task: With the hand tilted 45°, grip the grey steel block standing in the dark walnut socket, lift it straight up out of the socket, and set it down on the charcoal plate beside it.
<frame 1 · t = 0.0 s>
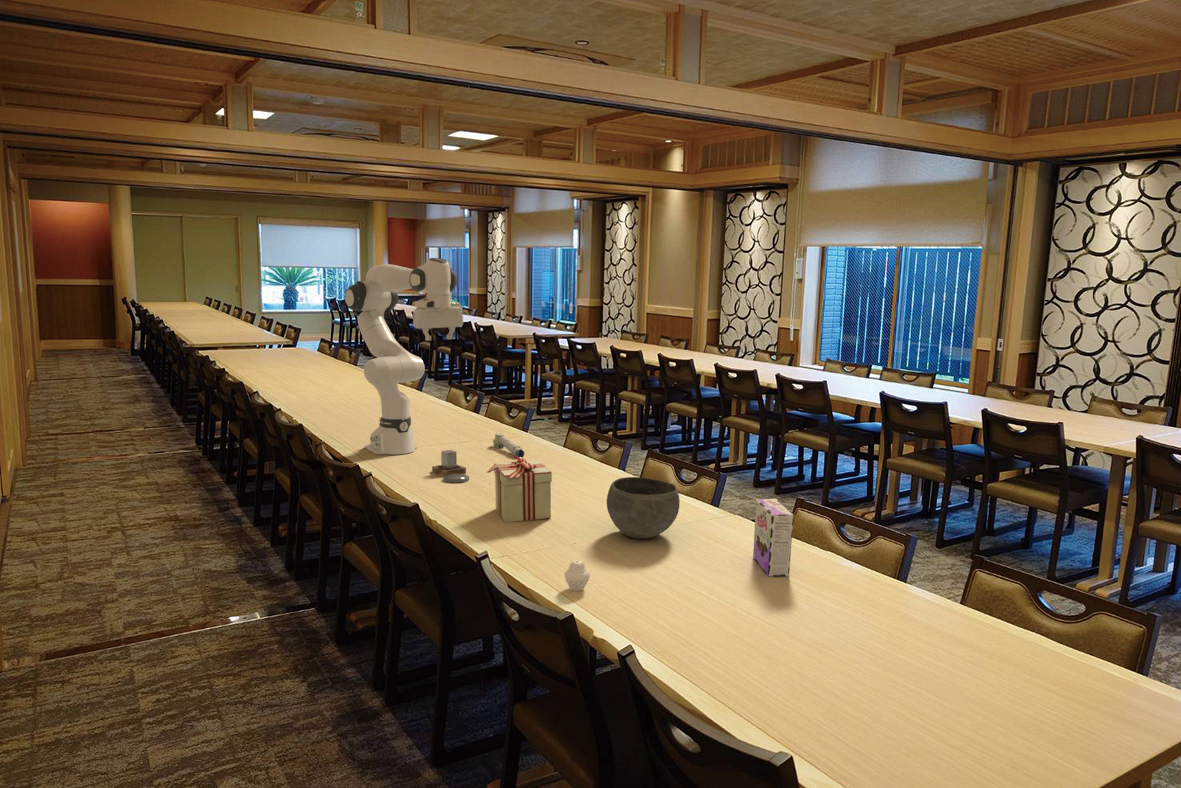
hand: (439, 339, 299), 48 cm above the table, tool pointing down, fingers open, 8 cm apart
bowl: (641, 535, 231), on the table
light grey rounded piece: (576, 589, 191), on the table
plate: (456, 479, 286), on the table
grey flashlight: (508, 452, 331), on the table
steel block: (448, 462, 295), in the socket
gift box: (518, 515, 247), on the table
candy box: (770, 567, 208), on the table
socket: (449, 472, 295), on the table
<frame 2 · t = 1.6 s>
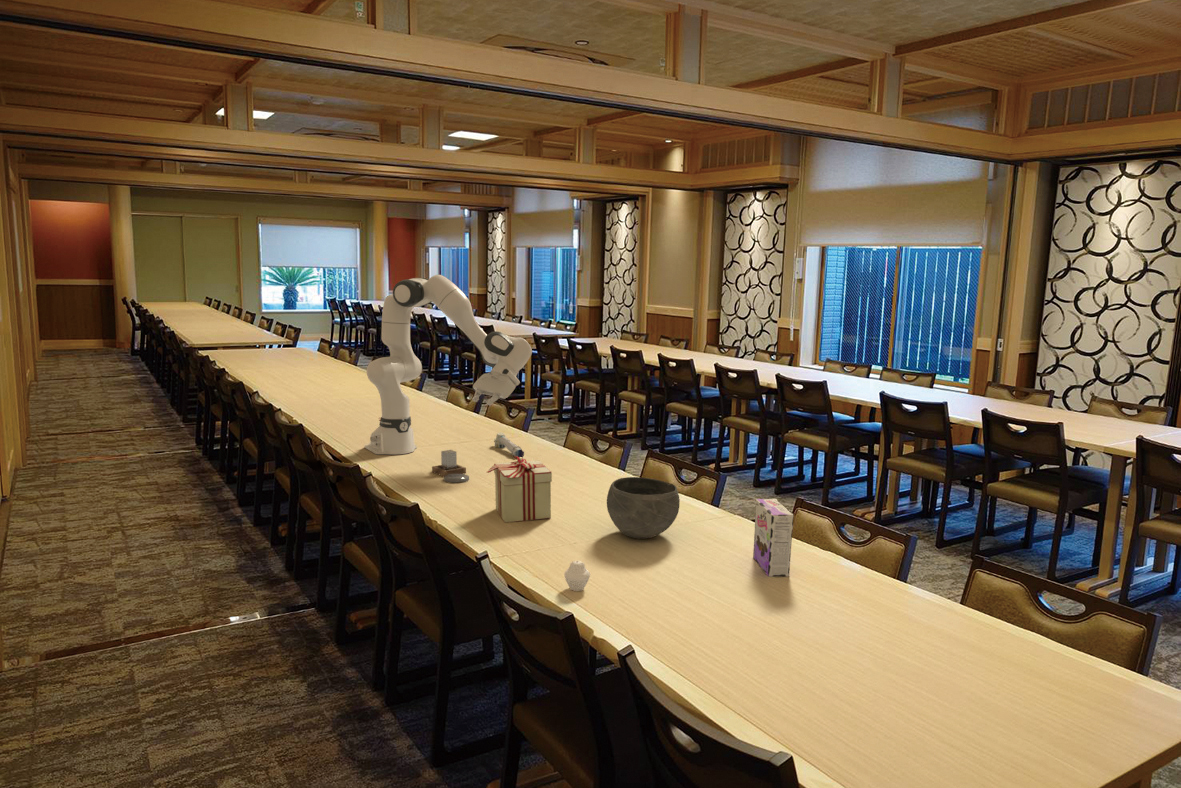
hand: (480, 402, 300), 25 cm above the table, tool tilted 45°, fingers open, 8 cm apart
nothing on the table moved.
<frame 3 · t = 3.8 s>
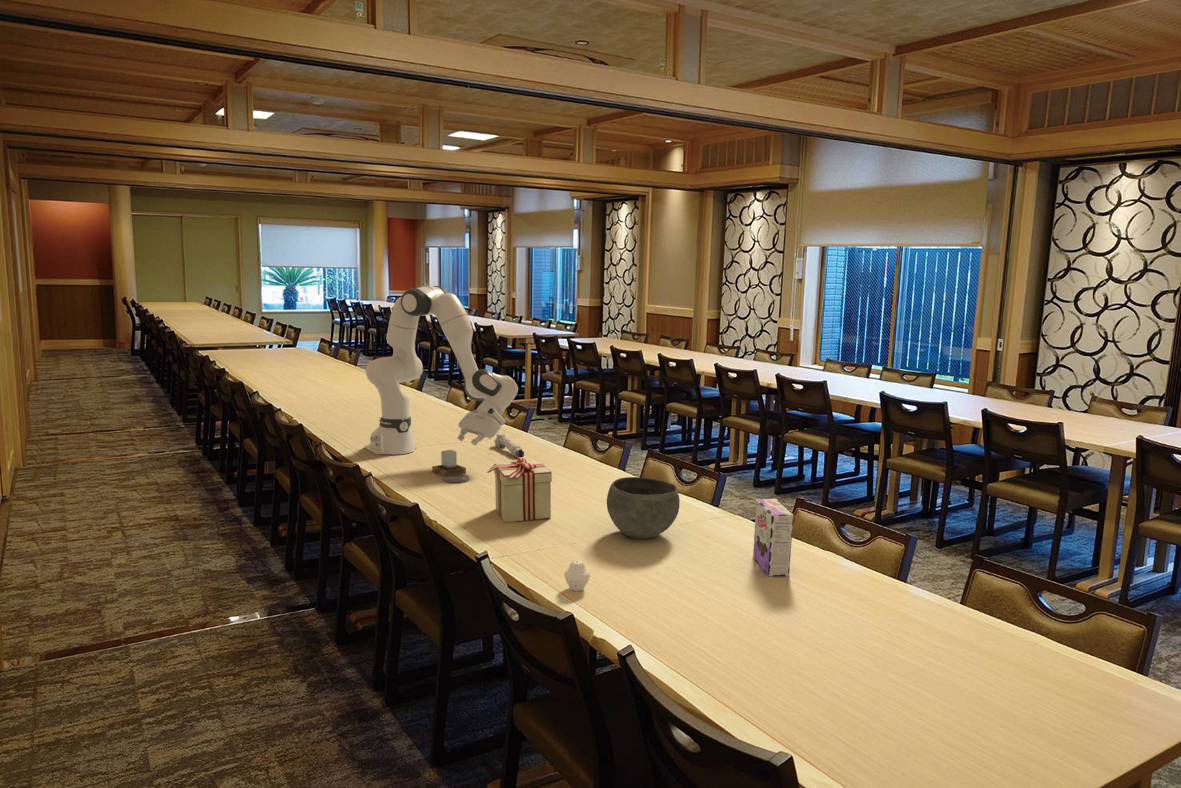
hand: (466, 441, 298), 11 cm above the table, tool tilted 45°, fingers open, 8 cm apart
nothing on the table moved.
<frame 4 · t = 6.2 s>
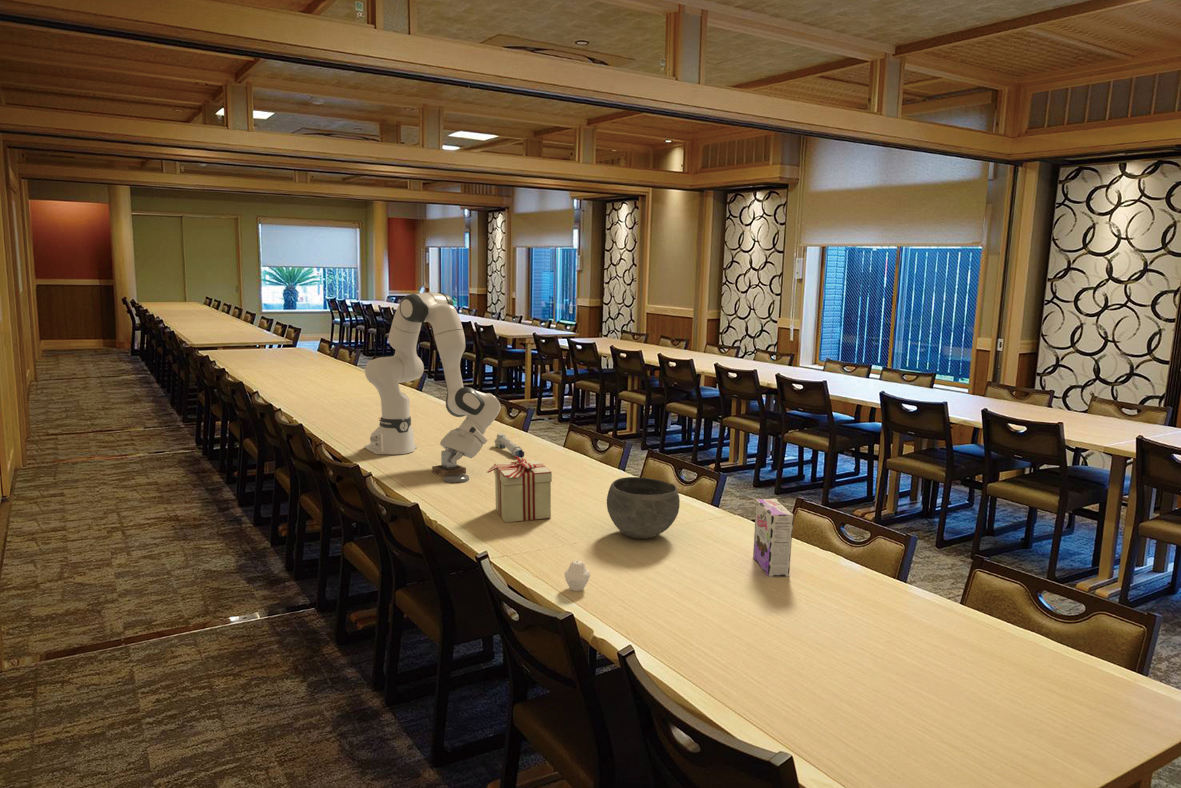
hand: (447, 461, 294), 4 cm above the table, tool tilted 45°, fingers closed on steel block, 4 cm apart
steel block: (448, 461, 295), in the socket, touching gripper
everything else where it was.
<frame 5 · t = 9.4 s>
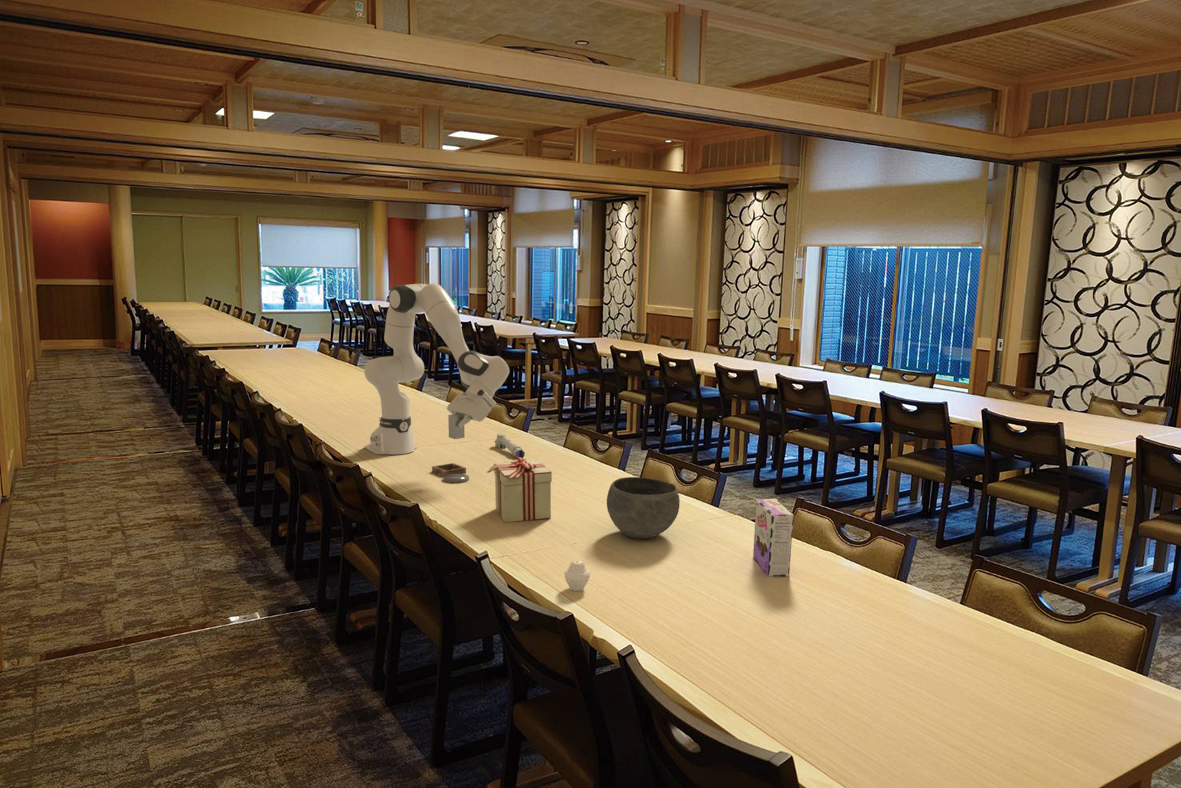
hand: (454, 425, 282), 20 cm above the table, tool tilted 45°, fingers closed on steel block, 4 cm apart
steel block: (456, 426, 283), point 19 cm above the table, touching gripper
everything else where it was.
when the fingers open (7 cm above the table, at t = 12.7 s): steel block drops 1 cm, resting on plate.
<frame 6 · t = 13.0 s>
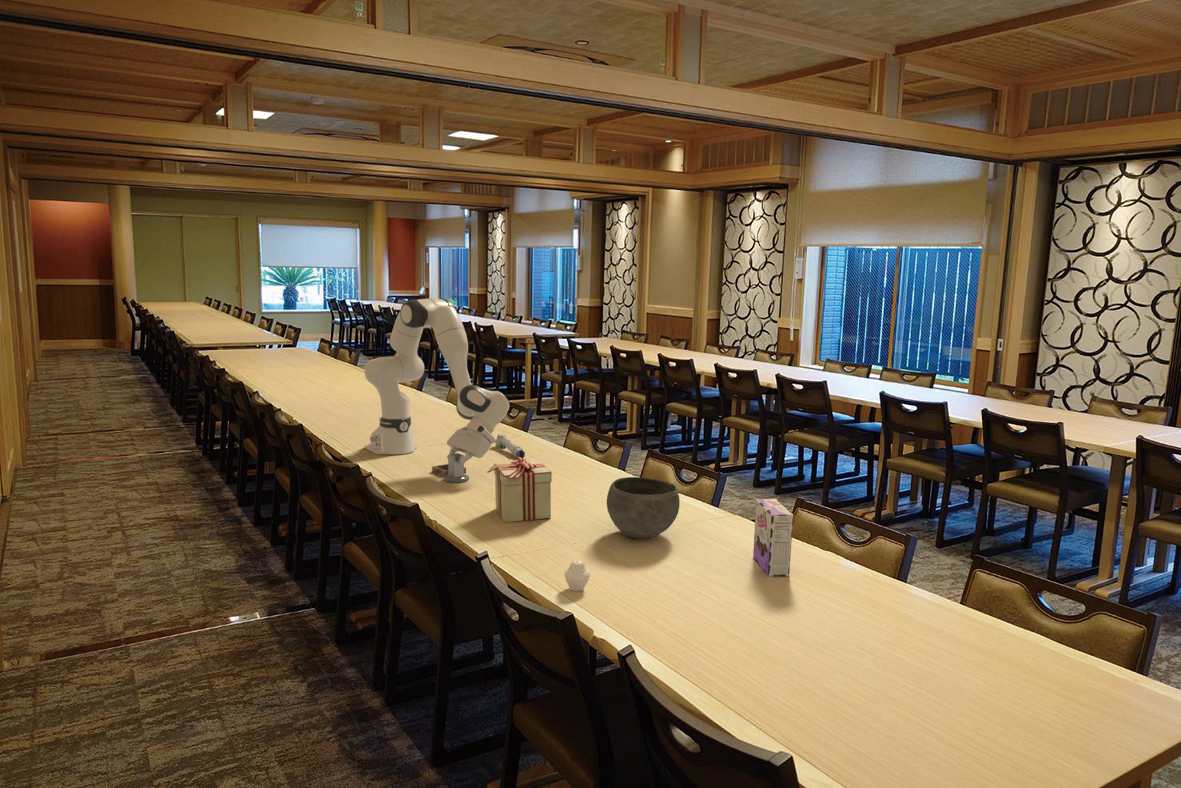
hand: (454, 461, 284), 7 cm above the table, tool tilted 45°, fingers open, 6 cm apart
steel block: (456, 465, 285), on the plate, point 5 cm above the table
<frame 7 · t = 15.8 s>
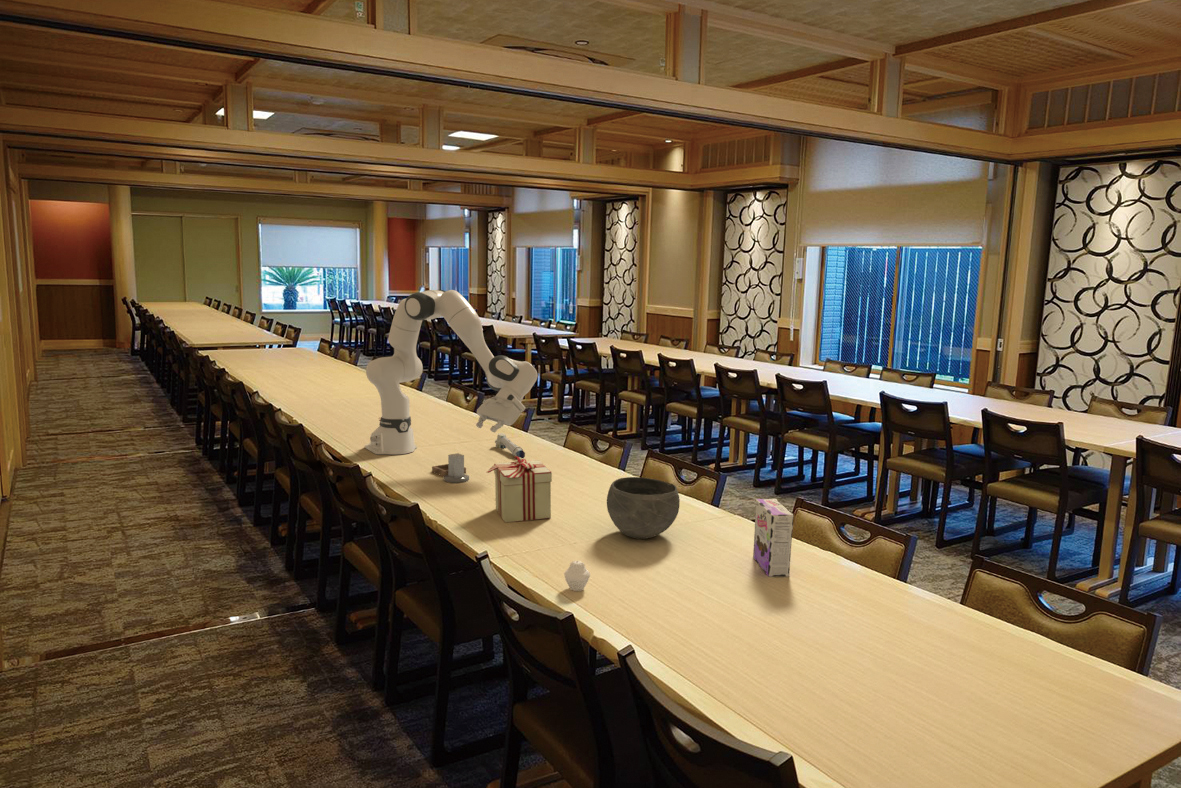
hand: (485, 429, 291), 17 cm above the table, tool tilted 45°, fingers open, 8 cm apart
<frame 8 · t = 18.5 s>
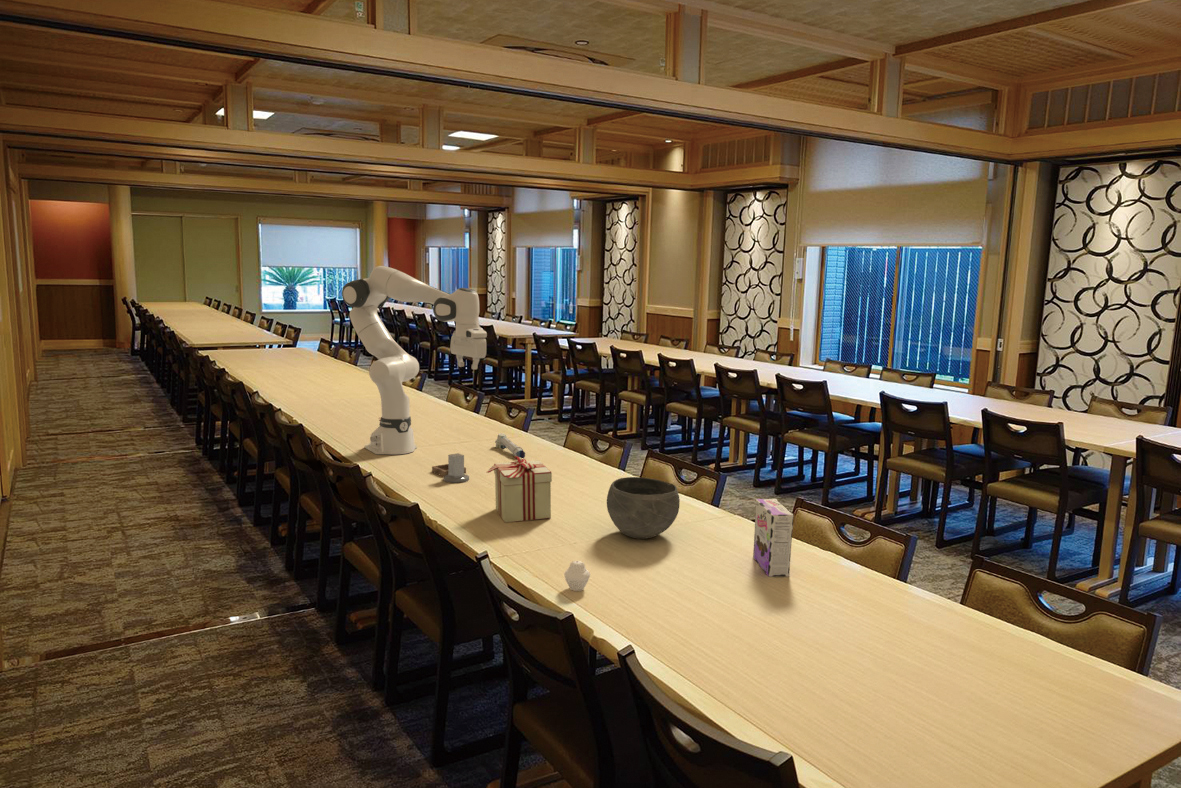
hand: (467, 367, 304), 37 cm above the table, tool pointing down, fingers open, 8 cm apart
at the end: steel block 0.1 cm off-centre on the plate, point 5.0 cm above the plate's base; steel block tilted 0°; the gripper is holding nothing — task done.
